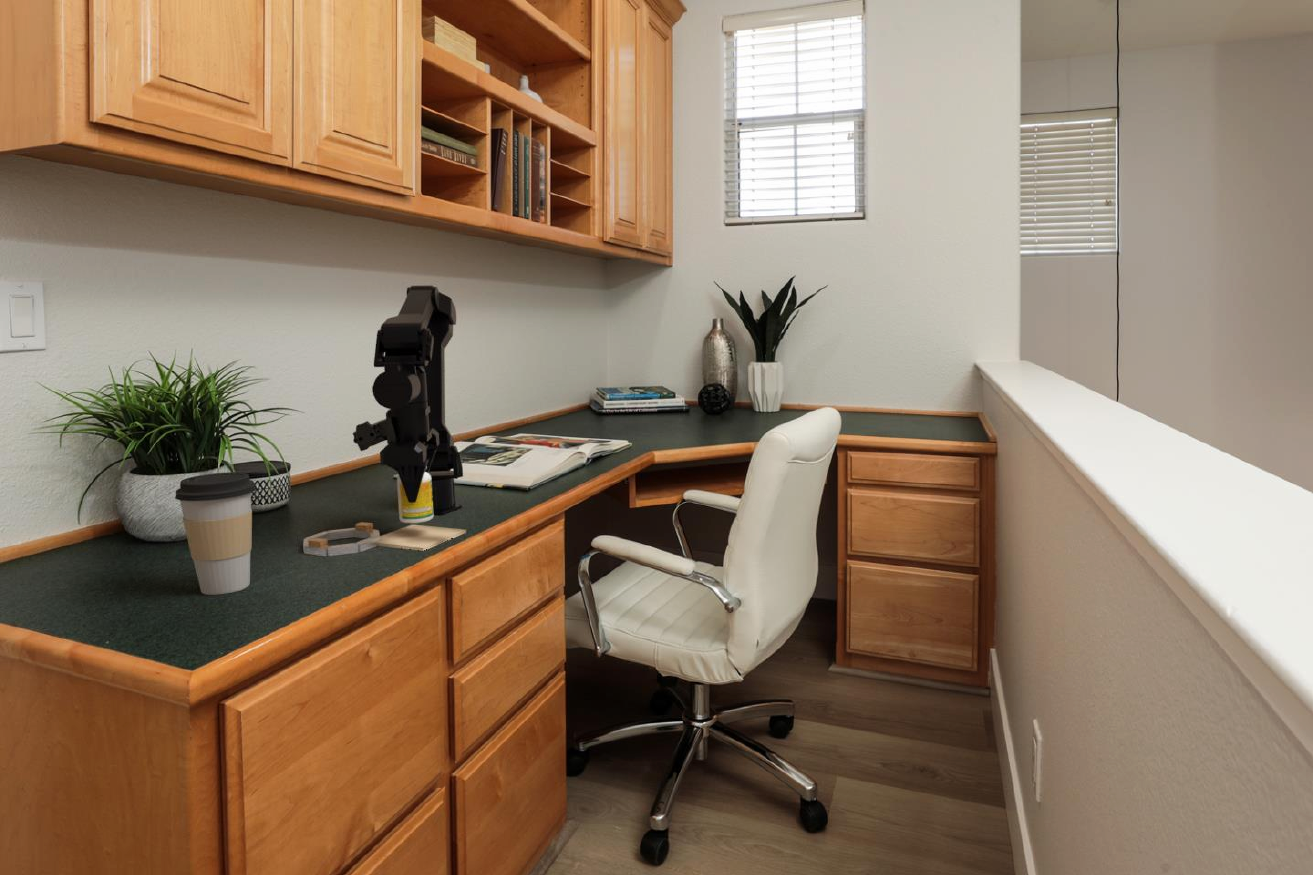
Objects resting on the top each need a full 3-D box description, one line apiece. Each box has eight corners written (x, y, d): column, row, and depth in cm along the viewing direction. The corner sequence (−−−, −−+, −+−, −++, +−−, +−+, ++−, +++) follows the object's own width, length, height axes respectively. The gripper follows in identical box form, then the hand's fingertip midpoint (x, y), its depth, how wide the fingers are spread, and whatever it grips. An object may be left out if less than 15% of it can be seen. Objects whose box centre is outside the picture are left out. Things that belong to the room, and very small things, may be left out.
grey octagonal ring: (341, 532, 133) (340, 520, 132) (395, 538, 128) (394, 525, 128) (287, 551, 122) (286, 537, 122) (343, 558, 118) (342, 544, 118)
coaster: (412, 527, 135) (412, 524, 135) (466, 532, 131) (466, 529, 131) (366, 544, 125) (366, 541, 125) (423, 551, 121) (422, 547, 121)
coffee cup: (177, 588, 106) (164, 478, 104) (252, 571, 113) (241, 468, 111) (197, 605, 100) (184, 489, 97) (275, 586, 106) (265, 477, 104)
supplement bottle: (394, 519, 128) (389, 461, 127) (425, 513, 132) (421, 457, 130) (408, 525, 124) (403, 465, 123) (439, 519, 128) (436, 461, 126)
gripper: (368, 397, 133) (375, 488, 136) (340, 410, 115) (348, 515, 117) (436, 395, 135) (442, 485, 137) (419, 408, 116) (426, 511, 119)
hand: (415, 498), depth 128 cm, fingers closed on supplement bottle, 5 cm apart
